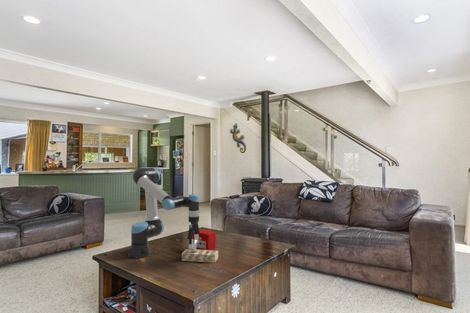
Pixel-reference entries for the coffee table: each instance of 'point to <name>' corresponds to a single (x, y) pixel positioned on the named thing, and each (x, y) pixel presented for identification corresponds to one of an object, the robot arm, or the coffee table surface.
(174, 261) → the coffee table surface
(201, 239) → the fire alarm
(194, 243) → the pin
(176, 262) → the coffee table surface
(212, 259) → the bore block
